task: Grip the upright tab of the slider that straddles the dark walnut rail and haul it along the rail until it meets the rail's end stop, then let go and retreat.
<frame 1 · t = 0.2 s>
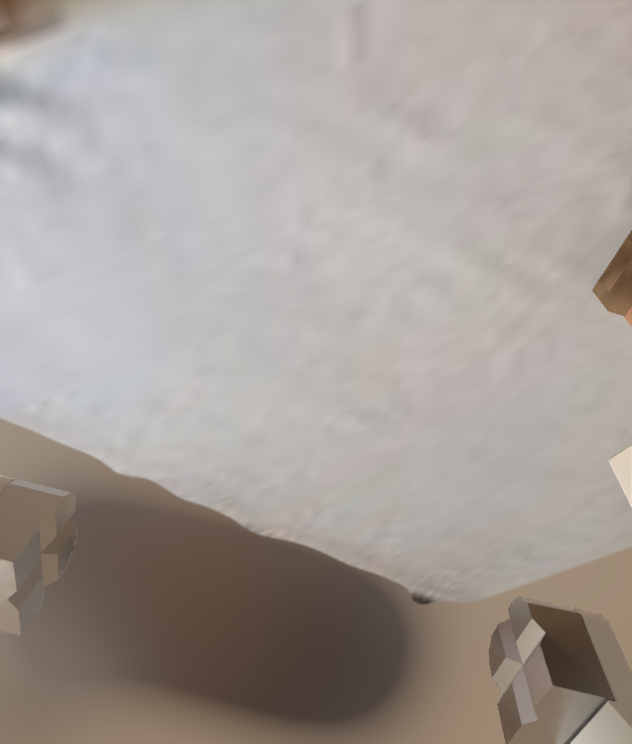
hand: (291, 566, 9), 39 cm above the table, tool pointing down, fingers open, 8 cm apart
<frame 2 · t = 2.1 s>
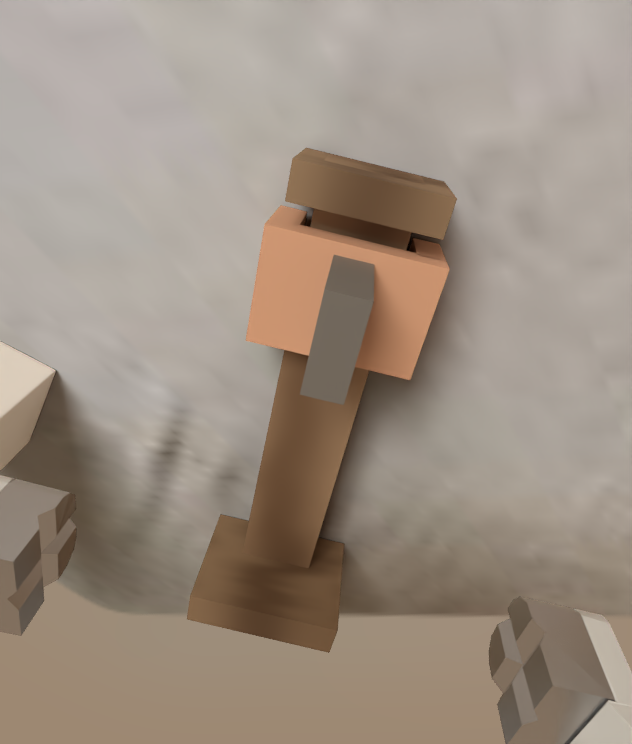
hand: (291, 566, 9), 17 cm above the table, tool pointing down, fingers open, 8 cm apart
rail: (315, 398, 28), on the table
slider: (341, 308, 21), point 4 cm above the table, slide at 0.0 cm
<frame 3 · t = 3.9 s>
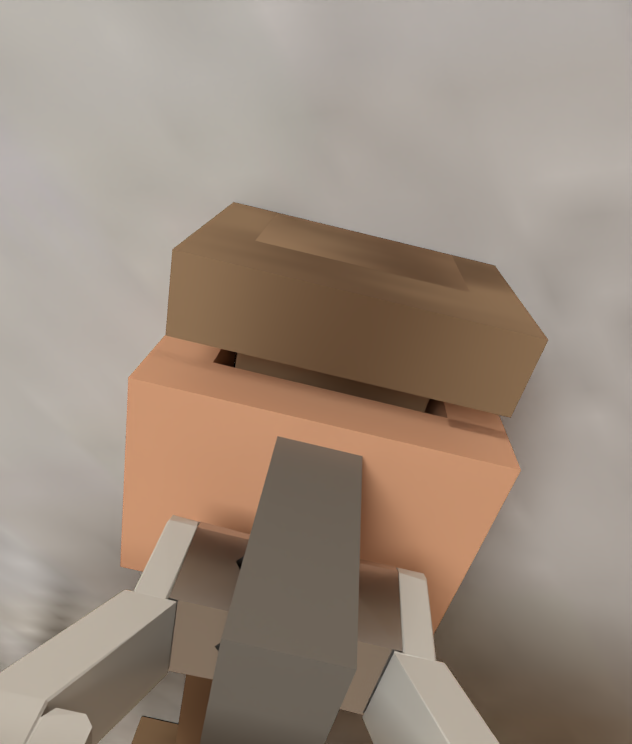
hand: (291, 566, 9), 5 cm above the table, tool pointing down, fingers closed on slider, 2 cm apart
rail: (272, 584, 17), on the table
slider: (297, 529, 10), point 4 cm above the table, slide at 0.0 cm, touching gripper
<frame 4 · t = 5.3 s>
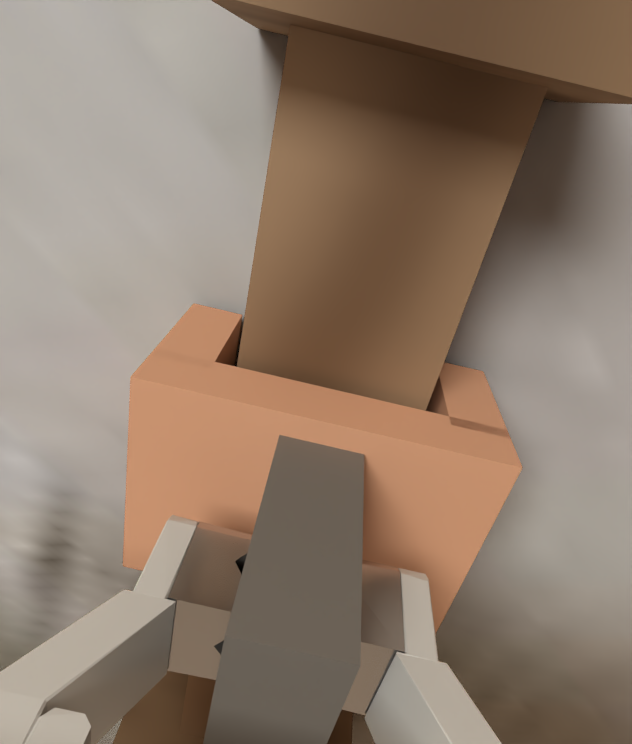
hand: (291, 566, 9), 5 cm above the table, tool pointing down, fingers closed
rail: (302, 476, 15), on the table
slider: (299, 527, 10), point 4 cm above the table, slide at 4.8 cm, touching gripper
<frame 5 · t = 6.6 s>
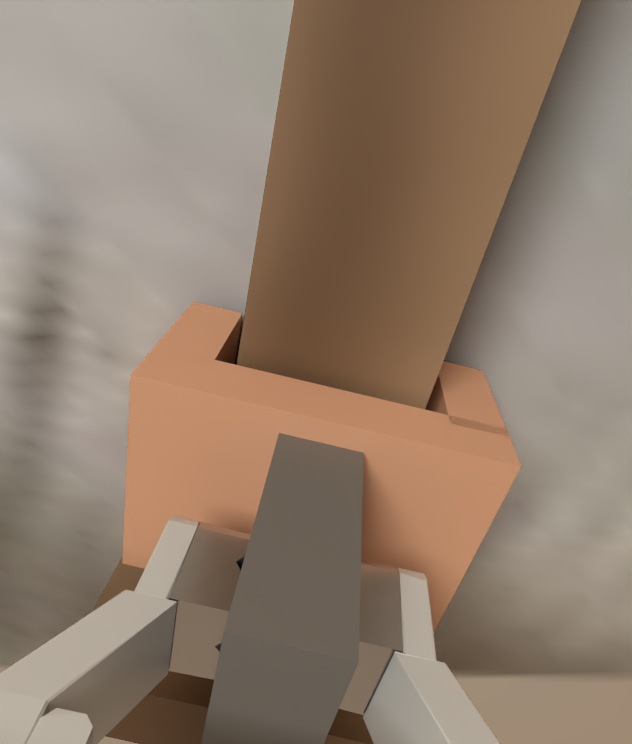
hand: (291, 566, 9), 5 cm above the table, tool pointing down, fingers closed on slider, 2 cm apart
rail: (383, 164, 11), on the table
slider: (299, 525, 10), point 4 cm above the table, slide at 13.4 cm, touching gripper
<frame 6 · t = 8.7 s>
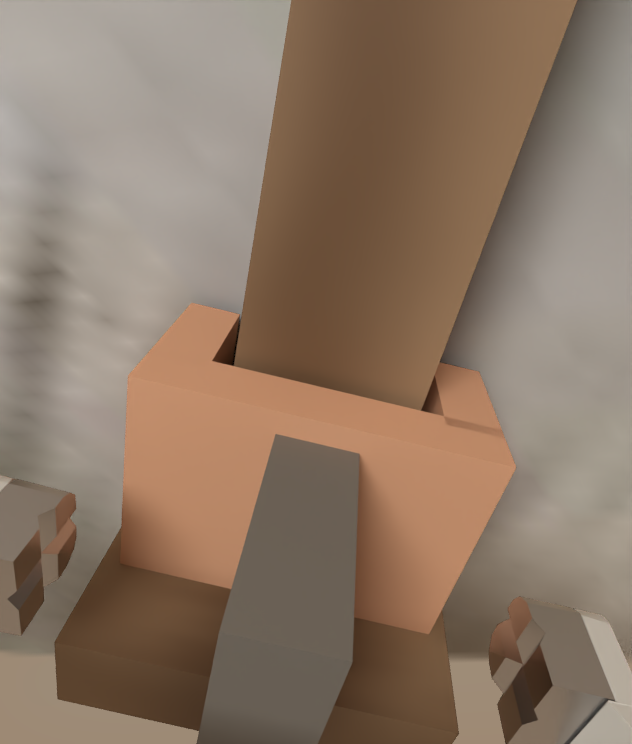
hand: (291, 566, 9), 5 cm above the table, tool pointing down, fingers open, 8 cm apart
rail: (394, 112, 10), on the table
slider: (295, 526, 10), point 4 cm above the table, slide at 14.5 cm, touching rail
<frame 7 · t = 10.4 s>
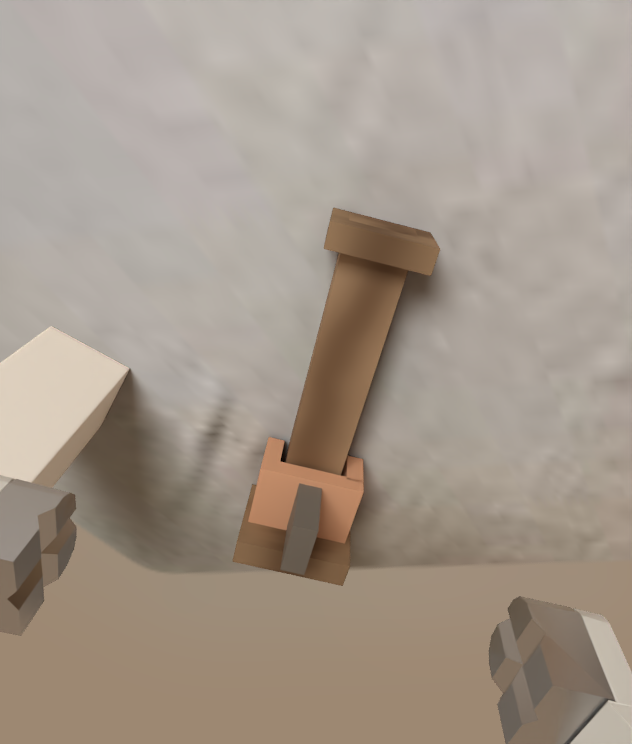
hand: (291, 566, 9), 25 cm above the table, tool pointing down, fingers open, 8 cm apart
milk: (78, 376, 37), on the table
rail: (332, 389, 36), on the table
slider: (304, 508, 36), point 4 cm above the table, slide at 14.5 cm, touching rail
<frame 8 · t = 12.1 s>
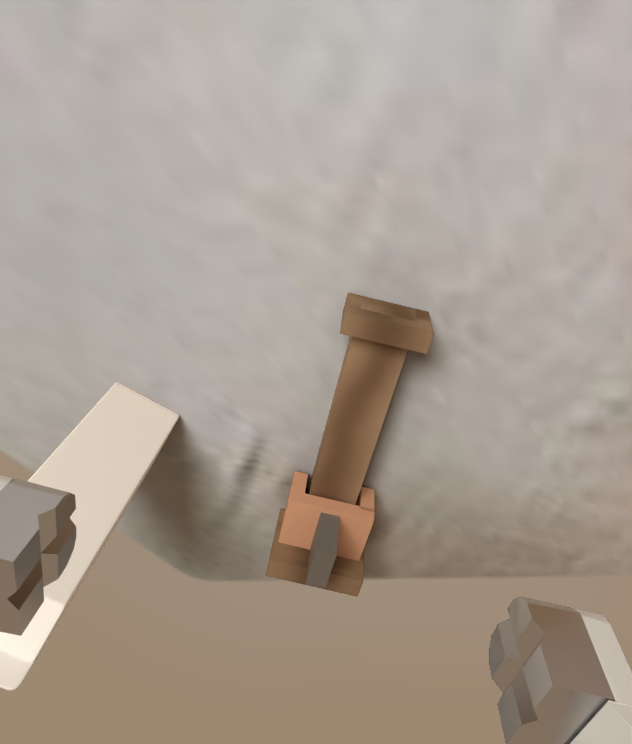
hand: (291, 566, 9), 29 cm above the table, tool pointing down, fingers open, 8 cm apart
milk: (137, 421, 45), on the table
rail: (348, 433, 43), on the table
slider: (324, 532, 43), point 4 cm above the table, slide at 14.5 cm, touching rail
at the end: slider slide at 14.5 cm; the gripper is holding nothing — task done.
